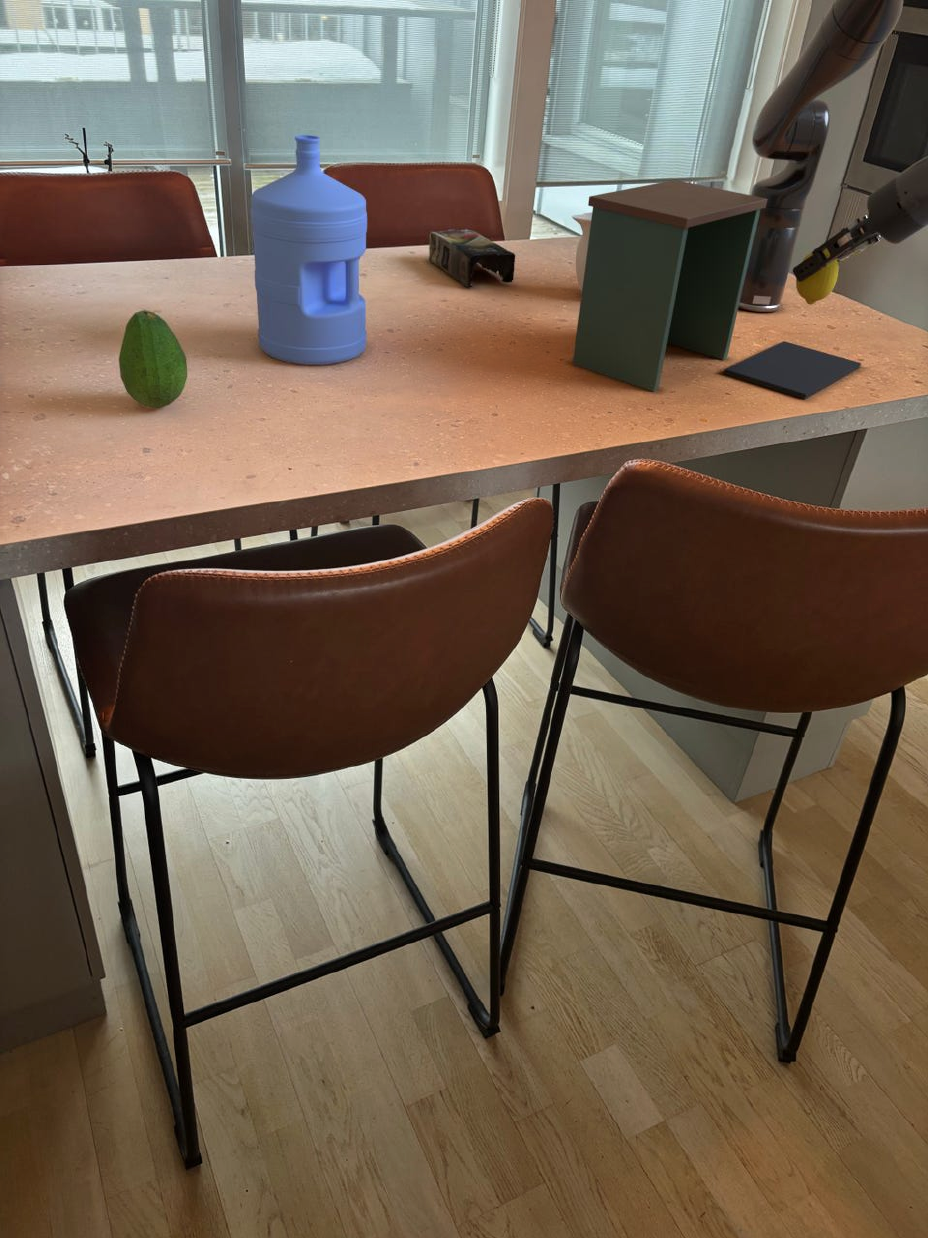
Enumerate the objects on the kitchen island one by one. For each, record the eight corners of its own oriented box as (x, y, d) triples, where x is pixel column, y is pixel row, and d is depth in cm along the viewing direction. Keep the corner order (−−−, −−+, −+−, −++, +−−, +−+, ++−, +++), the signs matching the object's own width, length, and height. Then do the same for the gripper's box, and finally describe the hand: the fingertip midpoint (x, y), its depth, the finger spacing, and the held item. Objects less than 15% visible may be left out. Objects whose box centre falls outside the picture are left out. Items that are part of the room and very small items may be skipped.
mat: (782, 345, 154) (784, 340, 154) (859, 367, 148) (861, 362, 147) (723, 373, 142) (724, 368, 141) (804, 399, 135) (806, 394, 134)
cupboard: (648, 333, 155) (675, 179, 142) (731, 358, 148) (767, 198, 134) (567, 363, 141) (588, 196, 128) (654, 393, 133) (687, 218, 120)
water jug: (238, 354, 136) (222, 137, 120) (291, 324, 148) (283, 123, 132) (337, 374, 132) (334, 152, 116) (383, 341, 144) (386, 136, 128)
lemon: (809, 311, 135) (824, 253, 131) (782, 300, 139) (796, 243, 135) (837, 308, 138) (853, 250, 133) (810, 297, 142) (824, 241, 137)
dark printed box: (423, 258, 184) (425, 225, 181) (469, 257, 188) (472, 224, 184) (466, 289, 169) (468, 254, 166) (515, 287, 173) (518, 252, 170)
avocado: (129, 421, 115) (115, 322, 108) (121, 397, 121) (106, 302, 114) (196, 414, 118) (186, 317, 111) (185, 391, 123) (175, 298, 117)
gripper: (920, 167, 128) (814, 242, 141) (880, 178, 119) (770, 256, 132) (947, 216, 129) (838, 286, 142) (908, 231, 119) (795, 304, 132)
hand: (805, 271), depth 137 cm, fingers closed on lemon, 5 cm apart
